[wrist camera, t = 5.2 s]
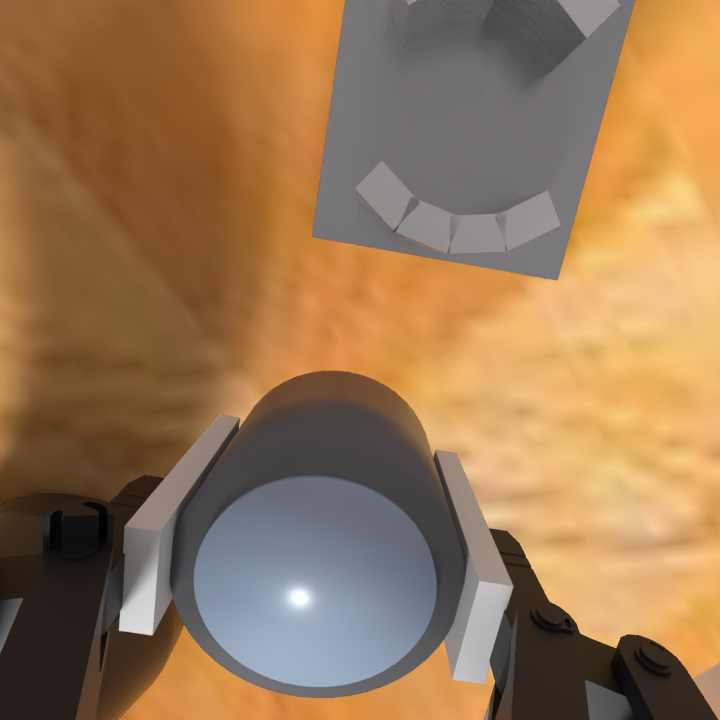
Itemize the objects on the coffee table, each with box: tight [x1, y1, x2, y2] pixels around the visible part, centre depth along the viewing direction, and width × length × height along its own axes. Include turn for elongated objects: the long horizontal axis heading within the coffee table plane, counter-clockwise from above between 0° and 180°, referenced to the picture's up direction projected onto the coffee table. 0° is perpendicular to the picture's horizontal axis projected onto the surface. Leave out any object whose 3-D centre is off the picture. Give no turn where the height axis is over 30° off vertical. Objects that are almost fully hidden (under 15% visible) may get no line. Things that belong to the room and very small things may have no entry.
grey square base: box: [312, 0, 635, 280], centre depth 21 cm, size 13×13×5 cm
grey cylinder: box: [169, 371, 465, 698], centre depth 14 cm, size 7×7×6 cm
